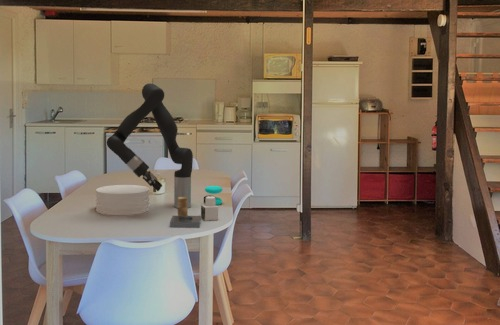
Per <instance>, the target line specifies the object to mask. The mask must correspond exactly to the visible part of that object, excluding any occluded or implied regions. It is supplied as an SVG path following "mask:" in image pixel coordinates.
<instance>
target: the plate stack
mask: <svg viewBox="0 0 500 325" xmlns="http://www.w3.org/2000/svg"><path fill="white" fill-rule="evenodd" d="M95 192H96V194H95V198H96V200H95V201H96V204H95V206H96V209H95V210H96V212H97V213H98V214H101V215H108V216H132V215H139V214H144V213H146V211H147V212H148V211H149V210H150V202H149V201H150V193H149V192H150V187H148V186H144V185H137V184H116V185H115V184H113V185H104V186H100V187H98V188H96V189H95Z"/></svg>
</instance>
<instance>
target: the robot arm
mask: <svg viewBox="0 0 500 325" xmlns="http://www.w3.org/2000/svg"><path fill="white" fill-rule="evenodd" d="M141 94H142V98H143V99H144V102H142V104H141V105H140V106H139V107H138V108H137V109H134V110H133V111H132V112H130V113H129V114H128V115H127V116H126V117H125V118H124V119H123V121H122V122H120V124H119V125H118V127H117V129H116V130H115V131H114V132H113V134H112V135H111V136H109V137H108V138H107V140H106V146H107V148H109V150H110V151H112V152H113V153H114V154H115V155H116V156H118V158H119V160H121V161H122V162H123V163H124V164H125V165H126V166H127V168H129V170H131V172H133V173H134V174H135V175H136V176H137V178H140V177H141V176H142V179H143V180H144V181H145V182H146V183H147V184H148V185H149V186H150V187H152V188H153V189H154V190H156V192H159V191H160V190H161V188H162V187H163V184H162V183H161V182H160V181H159V180H158V178H157V177H156V175H154V174H153V173H152V172H151V170H149V169H150V167H149V165H148V164H147V163H146V162H145V161H144V160H143V159H142V158H141V157H140V156H138V155H137V154H136V153H135V152H134V151H133V150H132V149H131V148H130V147H128V146H127V145H126V144H125V141H127V139H128V137H129V136H131V134H132V133H133V132H134V131H135V129H136V128H137V127H138V126H139V124H140V123H141V122H142V121H143V120H144V119H145V118H146V117H147V116H148V115H149V114H150V113H152V116H153V119H154V121H155V123H156V125H157V127H158V130H159V132H160V134H161V136H162V138H163V141H164V143H165V145H166V147H167V150H168V153H169V157H170V159H171V160H172V162H173V163H174V164H176V165H181V167H180V169H177V170H175V171H174V175H173V176H174V180H173V183H174V185H173V188H174V191H173V193H174V194H173V196H174V199H173V201H174V202H173V203H174V204H173V207H174V208H177V209H178V197H188V209H189V208H191V207H192V206H191V204H192V203H191V201H192V197H191V196H192V172H193V162H194V161H193V160H194V154H193V151H192V149H190V148H188V147H180V146H179V144H178V142H177V135H178V125H177V123H176V122H175V120H174V118H173V116H172V114H171V113H170V111H169V110H168V109H167V107H166V106H165V105H164V103H163V100H164V99H165V91H164V90H163V89H162V88H160V87H159V86H158V85H156V84H154V83H151V82H150V83H146V84H144V85H143V87H142V89H141Z"/></svg>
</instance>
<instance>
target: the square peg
mask: <svg viewBox="0 0 500 325" xmlns="http://www.w3.org/2000/svg"><path fill="white" fill-rule="evenodd" d="M188 210H189V208H188V197H178V208H177V216H188Z"/></svg>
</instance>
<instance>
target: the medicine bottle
mask: <svg viewBox="0 0 500 325" xmlns="http://www.w3.org/2000/svg"><path fill="white" fill-rule="evenodd" d="M216 197H217V196H215V195H212V194H211V195H209V194H208V195H205V196H204V197H203V204H201V205H200V216H201V219H202V220H203V221H205V222H208V221H209V220H213V221H218V220H219V205H215V204H216ZM209 222H210V221H209Z"/></svg>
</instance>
